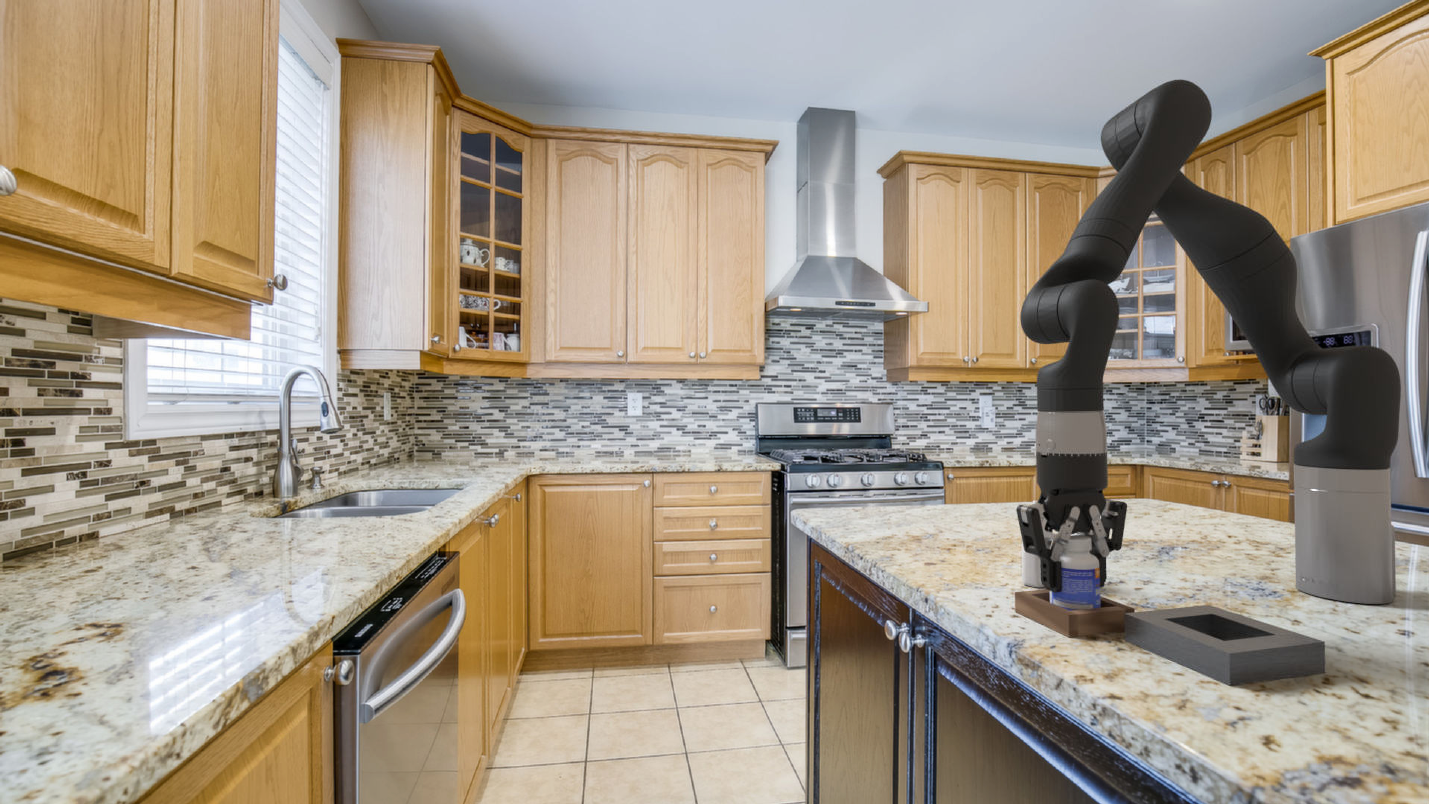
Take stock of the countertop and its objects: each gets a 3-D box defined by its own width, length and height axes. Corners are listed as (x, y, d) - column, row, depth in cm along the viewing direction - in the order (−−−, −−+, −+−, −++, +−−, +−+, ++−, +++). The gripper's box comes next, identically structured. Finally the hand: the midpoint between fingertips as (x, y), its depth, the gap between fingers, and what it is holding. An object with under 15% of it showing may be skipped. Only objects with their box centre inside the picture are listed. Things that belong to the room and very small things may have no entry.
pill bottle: (1108, 625, 73) (1106, 541, 73) (1058, 623, 74) (1056, 540, 74) (1090, 610, 78) (1088, 532, 78) (1043, 608, 79) (1041, 531, 79)
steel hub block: (1208, 630, 72) (1208, 604, 72) (1325, 672, 61) (1324, 641, 61) (1124, 640, 70) (1124, 613, 70) (1230, 685, 58) (1229, 653, 58)
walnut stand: (1075, 605, 81) (1075, 586, 81) (1134, 630, 73) (1134, 608, 73) (1015, 611, 80) (1014, 591, 80) (1068, 637, 71) (1068, 615, 71)
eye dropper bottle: (1064, 585, 90) (1063, 502, 90) (1032, 589, 89) (1031, 504, 89) (1040, 577, 95) (1039, 497, 95) (1010, 580, 93) (1008, 500, 93)
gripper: (1095, 444, 81) (1098, 575, 81) (998, 448, 78) (1001, 584, 78) (1147, 448, 74) (1150, 592, 74) (1041, 453, 71) (1045, 603, 71)
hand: (1073, 587), depth 76 cm, fingers closed on pill bottle, 5 cm apart
